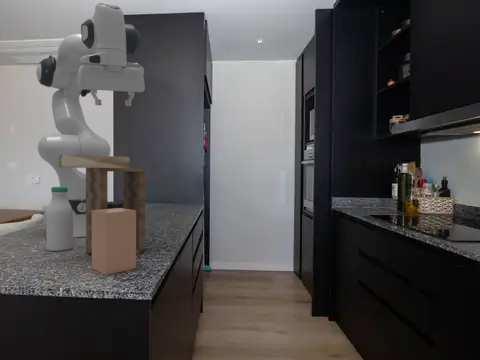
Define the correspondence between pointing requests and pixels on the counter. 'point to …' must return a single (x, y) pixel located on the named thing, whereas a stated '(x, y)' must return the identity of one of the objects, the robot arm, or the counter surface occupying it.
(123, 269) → the pedestal
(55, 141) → the robot arm
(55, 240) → the milk bottle
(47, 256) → the counter surface
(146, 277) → the counter surface
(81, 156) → the bar
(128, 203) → the wooden open box
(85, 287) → the counter surface
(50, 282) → the counter surface
